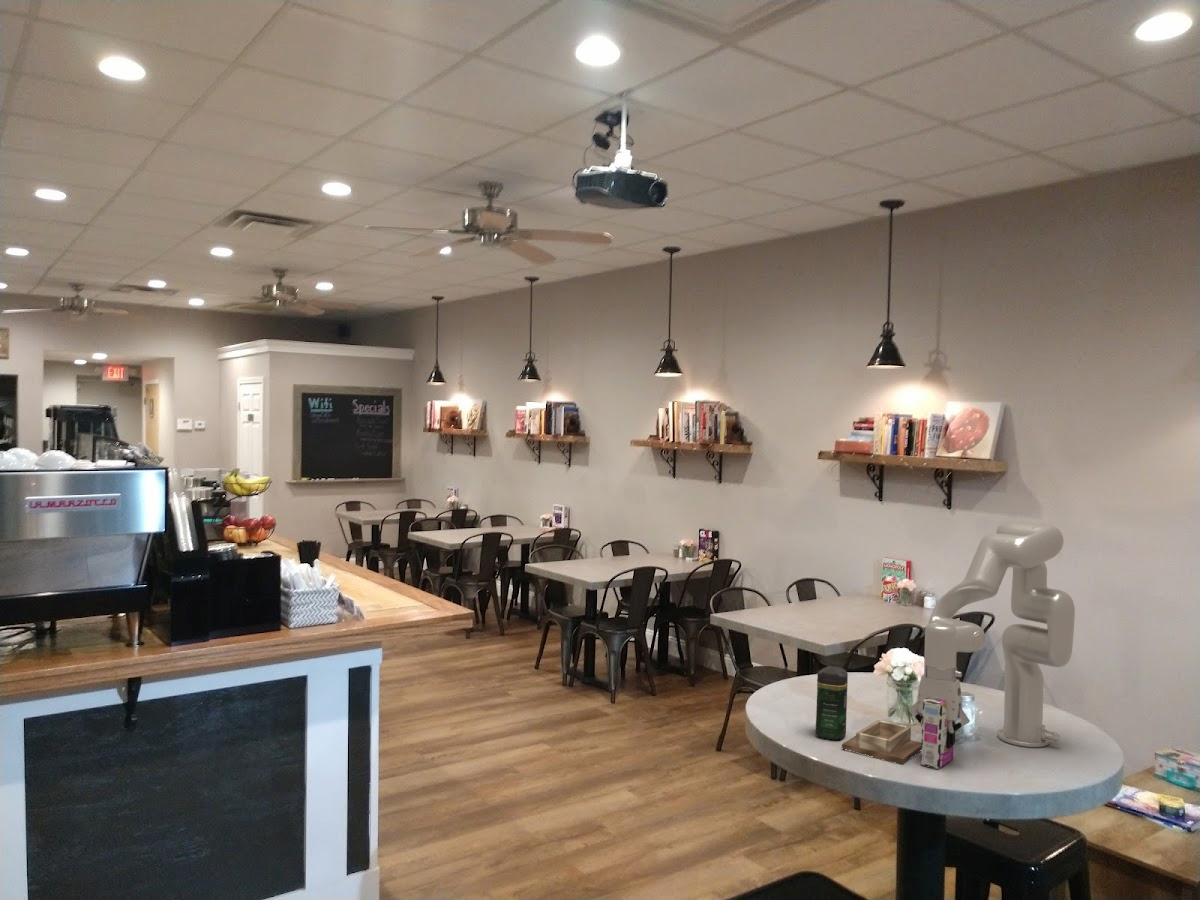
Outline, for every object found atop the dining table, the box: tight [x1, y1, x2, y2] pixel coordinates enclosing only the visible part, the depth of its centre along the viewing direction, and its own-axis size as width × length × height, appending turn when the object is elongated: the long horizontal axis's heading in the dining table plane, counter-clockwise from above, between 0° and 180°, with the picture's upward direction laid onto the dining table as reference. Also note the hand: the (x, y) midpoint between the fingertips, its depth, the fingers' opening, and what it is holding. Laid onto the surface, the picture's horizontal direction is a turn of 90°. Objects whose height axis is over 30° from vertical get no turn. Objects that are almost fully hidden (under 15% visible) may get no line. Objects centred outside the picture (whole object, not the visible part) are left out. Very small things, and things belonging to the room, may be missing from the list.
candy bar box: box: [920, 698, 955, 770], centre depth 220 cm, size 11×5×16 cm, turn 141°
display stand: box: [841, 719, 922, 765], centre depth 229 cm, size 16×16×5 cm
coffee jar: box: [815, 665, 849, 740], centre depth 239 cm, size 10×8×19 cm
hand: (938, 743), depth 220 cm, fingers closed on candy bar box, 5 cm apart
